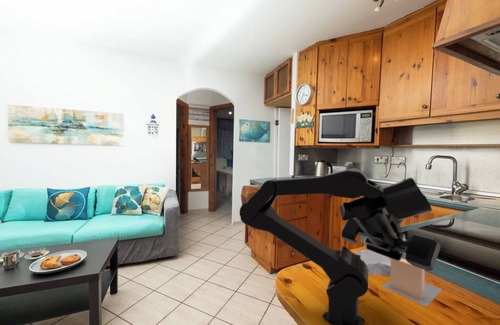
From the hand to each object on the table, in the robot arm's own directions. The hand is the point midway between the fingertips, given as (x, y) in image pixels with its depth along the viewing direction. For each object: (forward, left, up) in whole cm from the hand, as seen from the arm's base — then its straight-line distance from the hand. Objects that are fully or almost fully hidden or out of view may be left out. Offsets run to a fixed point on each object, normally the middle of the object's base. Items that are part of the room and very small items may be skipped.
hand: (395, 258), depth 53 cm
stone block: (+14, +12, -12) cm, 22 cm away
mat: (+10, 0, -11) cm, 15 cm away
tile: (+7, 0, -11) cm, 13 cm away
